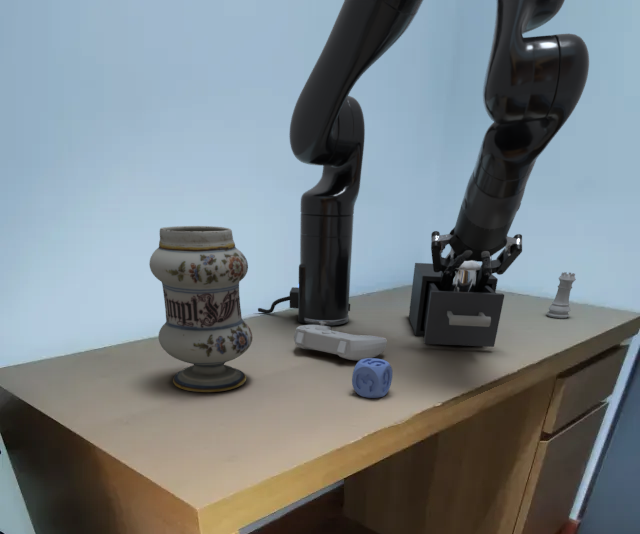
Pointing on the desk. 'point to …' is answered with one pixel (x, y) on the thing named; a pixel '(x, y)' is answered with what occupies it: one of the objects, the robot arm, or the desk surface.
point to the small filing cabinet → (420, 278)
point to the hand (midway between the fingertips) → (461, 284)
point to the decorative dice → (372, 377)
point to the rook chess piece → (562, 297)
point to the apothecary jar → (202, 305)
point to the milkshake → (465, 277)
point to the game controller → (338, 342)
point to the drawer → (461, 316)
